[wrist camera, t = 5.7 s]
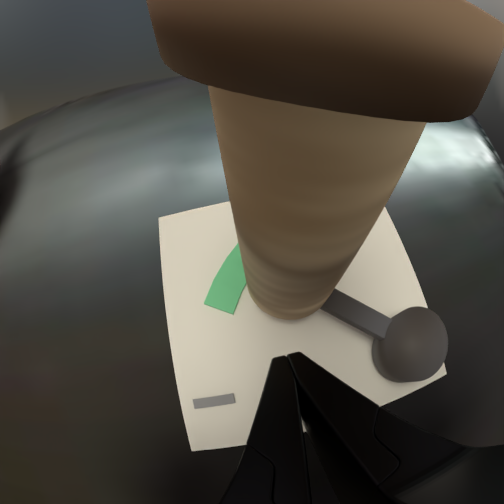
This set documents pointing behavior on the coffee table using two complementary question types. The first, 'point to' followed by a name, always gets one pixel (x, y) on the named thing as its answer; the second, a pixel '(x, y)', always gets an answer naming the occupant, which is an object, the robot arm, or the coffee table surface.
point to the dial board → (266, 323)
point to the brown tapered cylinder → (328, 136)
